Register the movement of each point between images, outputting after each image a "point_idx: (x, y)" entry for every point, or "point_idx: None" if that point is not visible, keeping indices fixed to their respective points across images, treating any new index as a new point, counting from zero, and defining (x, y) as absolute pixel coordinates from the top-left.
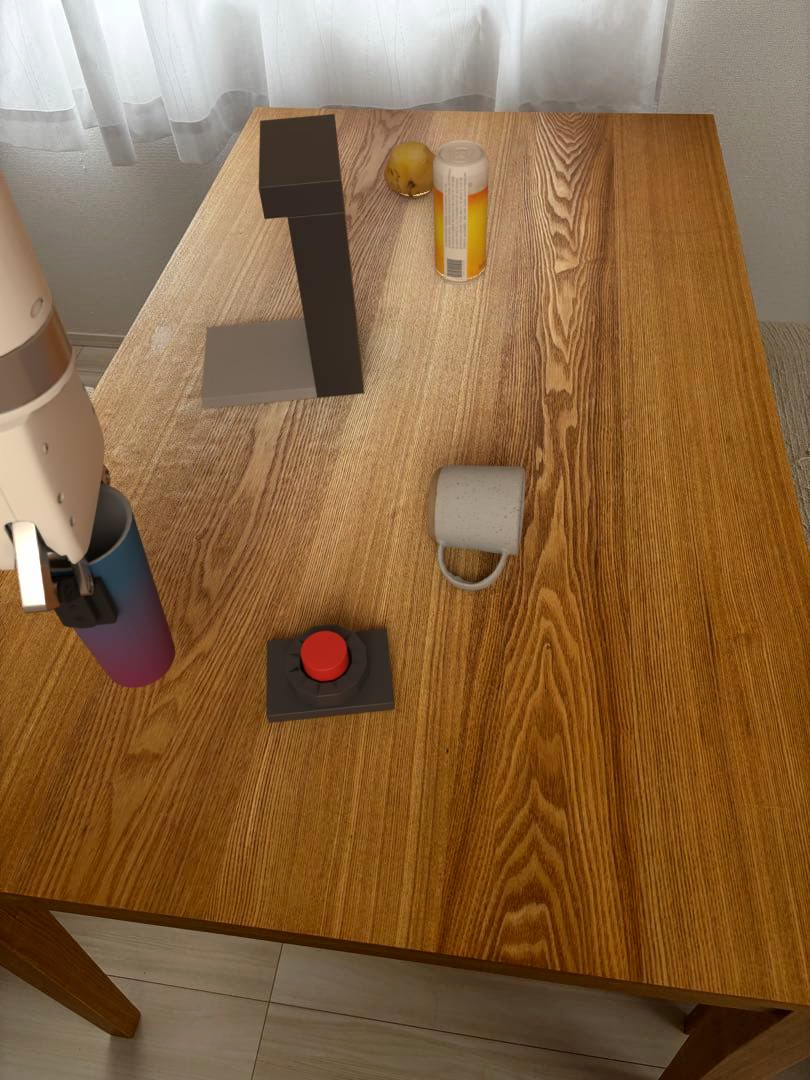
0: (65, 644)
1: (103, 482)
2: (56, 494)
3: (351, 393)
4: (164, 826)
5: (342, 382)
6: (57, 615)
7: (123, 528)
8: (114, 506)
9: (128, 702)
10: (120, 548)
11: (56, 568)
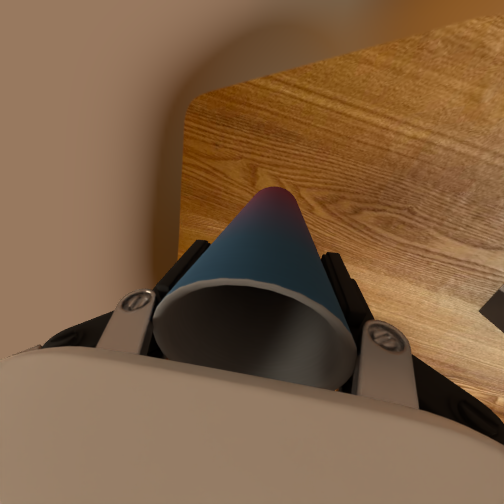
0: (354, 108)
1: (336, 390)
2: None
3: (484, 306)
4: (216, 189)
5: (497, 310)
6: (188, 249)
7: (299, 319)
8: (306, 356)
9: (291, 165)
10: None
11: (161, 331)
